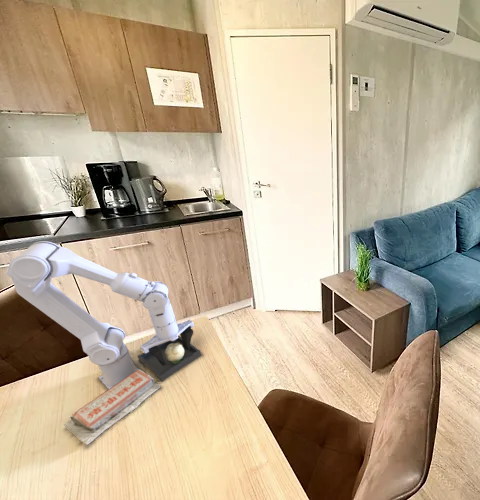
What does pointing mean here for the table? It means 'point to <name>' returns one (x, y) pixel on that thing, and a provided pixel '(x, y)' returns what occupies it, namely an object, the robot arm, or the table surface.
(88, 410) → the packaged product
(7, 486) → the table surface
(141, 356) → the tray
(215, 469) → the table surface
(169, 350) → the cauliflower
